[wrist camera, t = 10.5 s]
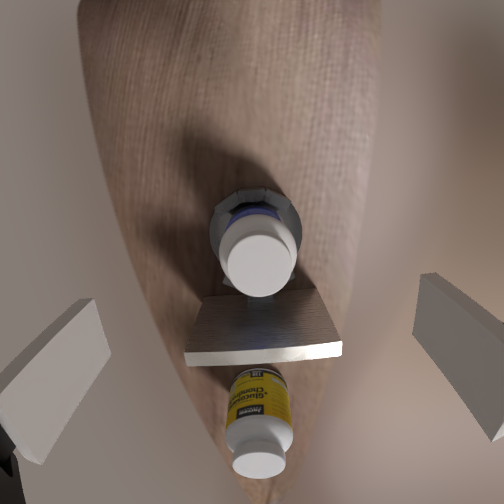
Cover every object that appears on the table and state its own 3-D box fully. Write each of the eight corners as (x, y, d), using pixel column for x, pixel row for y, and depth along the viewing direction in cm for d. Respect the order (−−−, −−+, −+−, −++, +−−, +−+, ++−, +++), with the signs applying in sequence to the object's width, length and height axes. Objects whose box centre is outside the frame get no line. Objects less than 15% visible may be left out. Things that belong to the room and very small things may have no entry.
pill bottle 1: (214, 231, 28) (194, 263, 18) (259, 190, 27) (261, 202, 17) (254, 274, 29) (254, 324, 19) (299, 236, 28) (320, 270, 18)
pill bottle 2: (277, 358, 32) (285, 438, 21) (293, 398, 34) (304, 475, 22) (221, 373, 33) (209, 452, 21) (241, 411, 34) (237, 487, 23)
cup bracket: (191, 193, 27) (157, 206, 18) (312, 183, 27) (343, 191, 17) (206, 307, 30) (186, 366, 21) (316, 299, 30) (341, 355, 20)
